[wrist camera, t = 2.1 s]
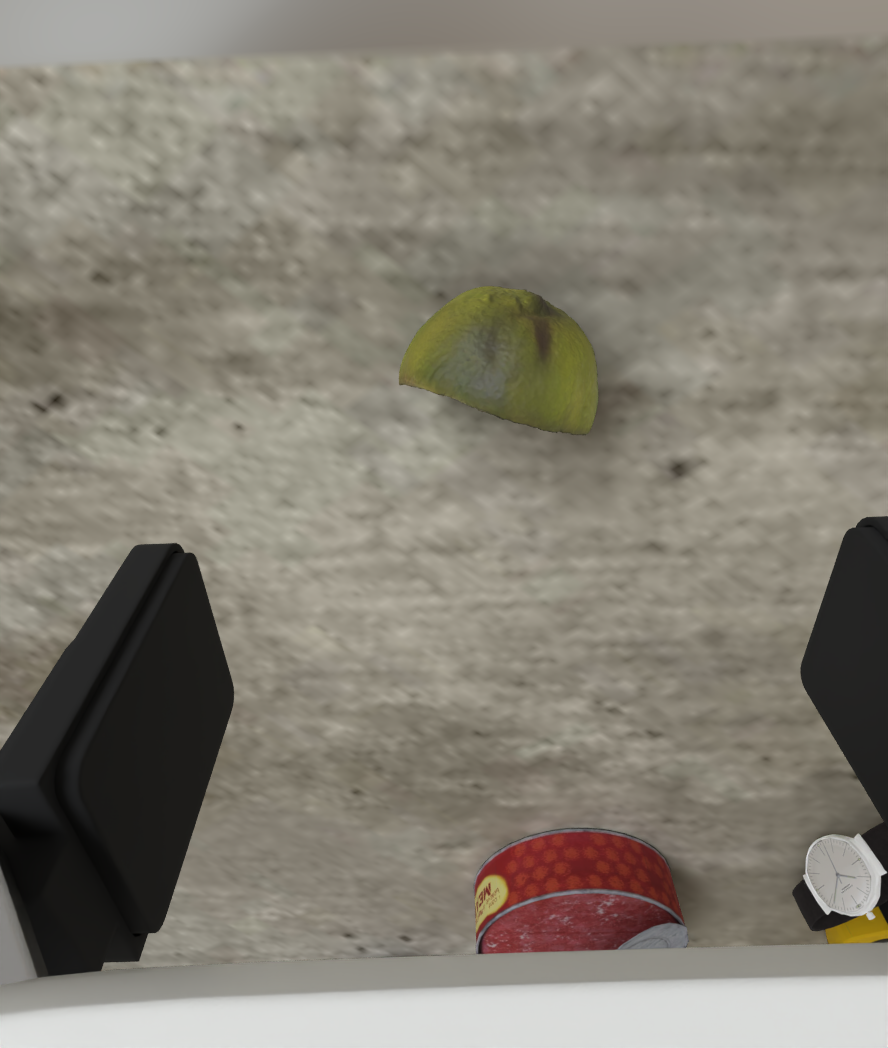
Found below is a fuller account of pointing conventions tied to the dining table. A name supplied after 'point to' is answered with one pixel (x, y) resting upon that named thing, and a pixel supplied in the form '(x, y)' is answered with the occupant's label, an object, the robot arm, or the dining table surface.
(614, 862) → the canned food
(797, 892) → the watch
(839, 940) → the yellow walkie talkie
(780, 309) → the dining table surface
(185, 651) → the robot arm
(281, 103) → the dining table surface
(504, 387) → the lime
